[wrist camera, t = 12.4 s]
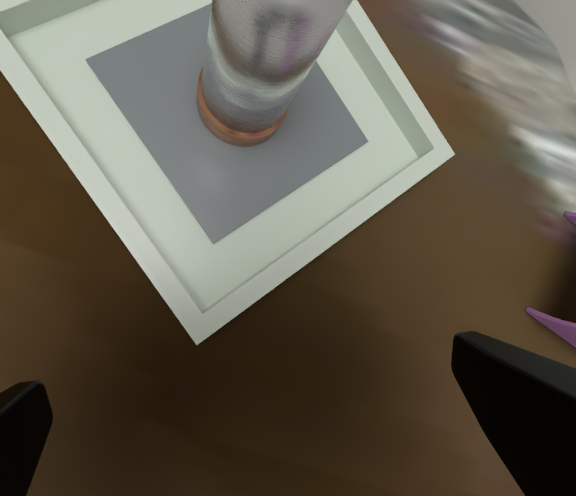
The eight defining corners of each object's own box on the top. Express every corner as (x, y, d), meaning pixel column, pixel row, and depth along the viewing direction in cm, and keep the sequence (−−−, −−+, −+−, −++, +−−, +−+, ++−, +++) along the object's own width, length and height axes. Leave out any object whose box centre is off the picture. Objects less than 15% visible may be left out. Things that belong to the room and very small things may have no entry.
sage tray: (194, 339, 20) (196, 345, 18) (-21, 39, 19) (-47, 4, 17) (429, 167, 26) (455, 154, 23) (273, -77, 24) (283, -116, 22)
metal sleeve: (196, 143, 20) (217, 9, 11) (196, 58, 21) (215, -142, 11) (283, 149, 22) (370, 35, 12) (281, 69, 22) (363, -102, 13)
